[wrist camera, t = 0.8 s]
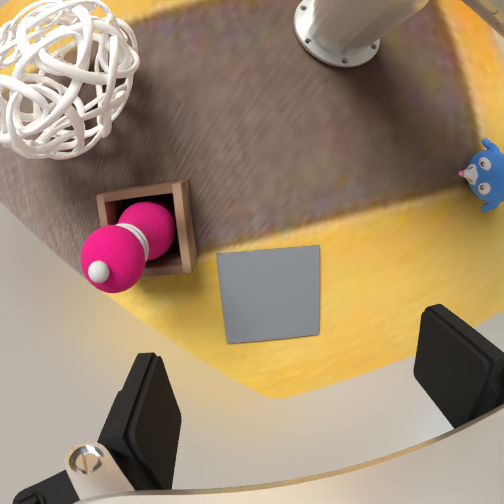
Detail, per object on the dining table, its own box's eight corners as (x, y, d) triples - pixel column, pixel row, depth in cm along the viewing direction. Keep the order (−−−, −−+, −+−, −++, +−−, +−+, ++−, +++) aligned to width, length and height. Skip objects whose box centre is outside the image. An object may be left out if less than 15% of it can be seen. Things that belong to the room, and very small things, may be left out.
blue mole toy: (441, 133, 39) (476, 131, 31) (490, 141, 40) (523, 143, 32) (441, 208, 43) (474, 220, 35) (489, 209, 43) (521, 219, 35)
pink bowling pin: (153, 259, 43) (100, 332, 24) (119, 220, 41) (42, 268, 22) (191, 226, 42) (156, 282, 23) (156, 185, 40) (92, 209, 21)
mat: (216, 253, 43) (216, 255, 42) (318, 244, 43) (319, 246, 43) (227, 341, 47) (227, 343, 46) (317, 332, 47) (318, 334, 47)
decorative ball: (77, 189, 39) (-10, 214, 21) (17, 98, 34) (-67, 85, 16) (185, 92, 37) (146, 43, 18) (111, 6, 31) (53, -56, 13)
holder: (113, 189, 40) (96, 194, 34) (188, 179, 40) (180, 182, 34) (125, 263, 43) (110, 278, 37) (197, 257, 43) (191, 272, 37)
